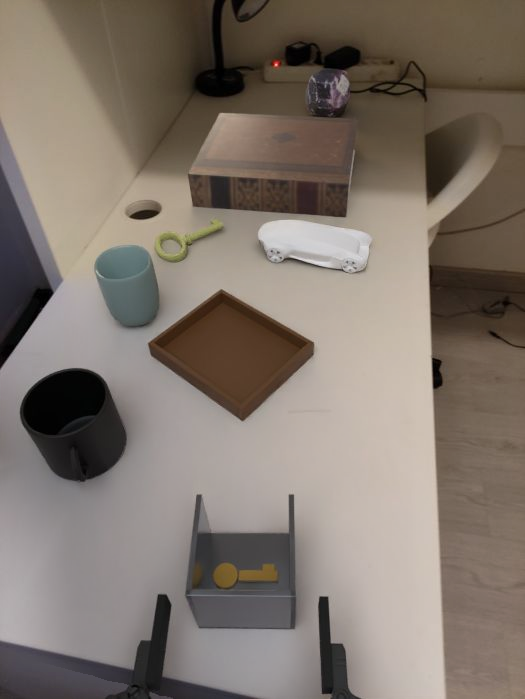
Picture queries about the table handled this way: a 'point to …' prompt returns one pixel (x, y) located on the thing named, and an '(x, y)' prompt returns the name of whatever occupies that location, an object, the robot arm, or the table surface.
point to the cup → (128, 284)
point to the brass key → (243, 575)
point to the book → (275, 164)
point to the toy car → (316, 244)
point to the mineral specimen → (328, 92)
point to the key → (184, 240)
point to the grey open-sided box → (244, 597)
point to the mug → (74, 423)
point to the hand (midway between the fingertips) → (243, 599)
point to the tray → (232, 352)
